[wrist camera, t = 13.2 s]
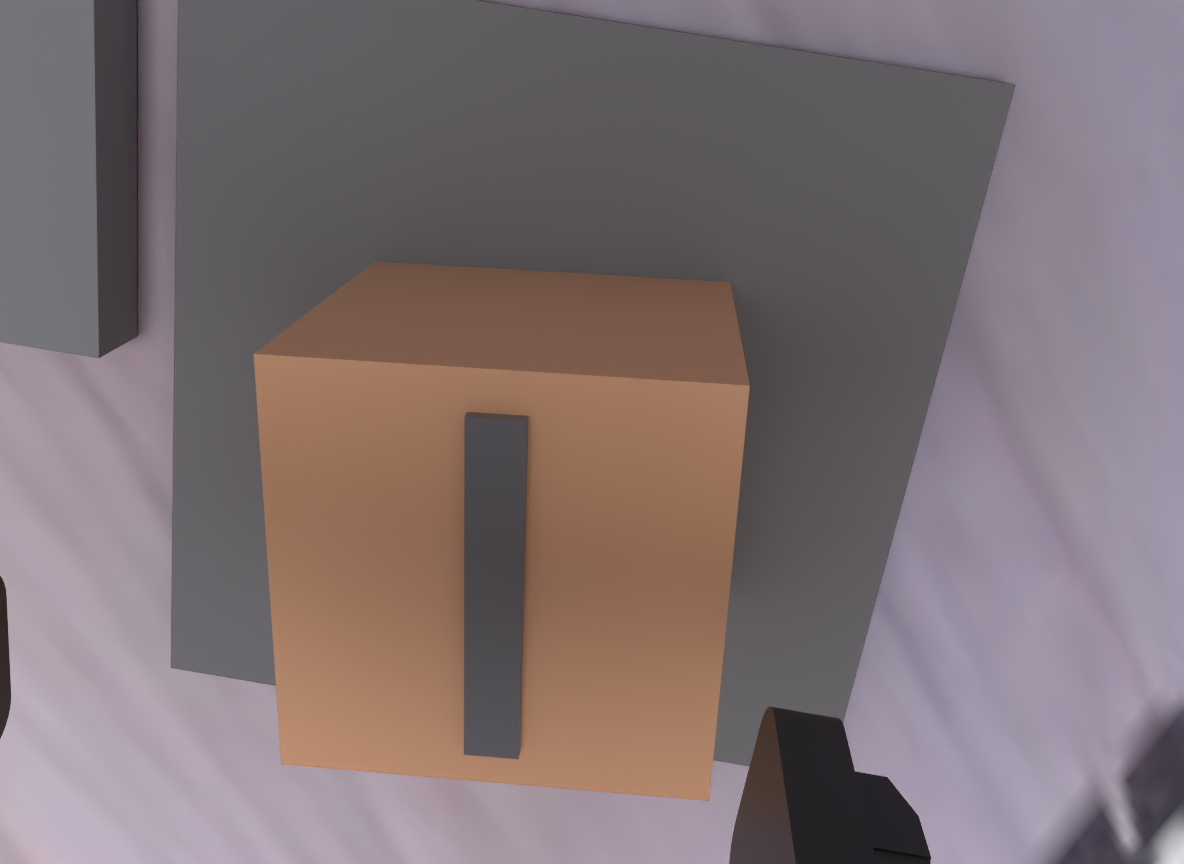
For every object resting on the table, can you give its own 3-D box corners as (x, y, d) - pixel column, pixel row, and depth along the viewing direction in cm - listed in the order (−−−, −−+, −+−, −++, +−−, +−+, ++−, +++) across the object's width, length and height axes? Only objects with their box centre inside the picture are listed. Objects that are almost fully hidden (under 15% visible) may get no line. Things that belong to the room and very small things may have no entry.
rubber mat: (193, -44, 19) (178, -47, 18) (1005, 83, 19) (1015, 84, 18) (183, 652, 24) (170, 667, 23) (824, 761, 24) (827, 779, 23)
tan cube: (730, 281, 20) (751, 391, 14) (702, 601, 22) (709, 810, 16) (374, 261, 20) (247, 358, 14) (383, 576, 22) (276, 772, 16)
